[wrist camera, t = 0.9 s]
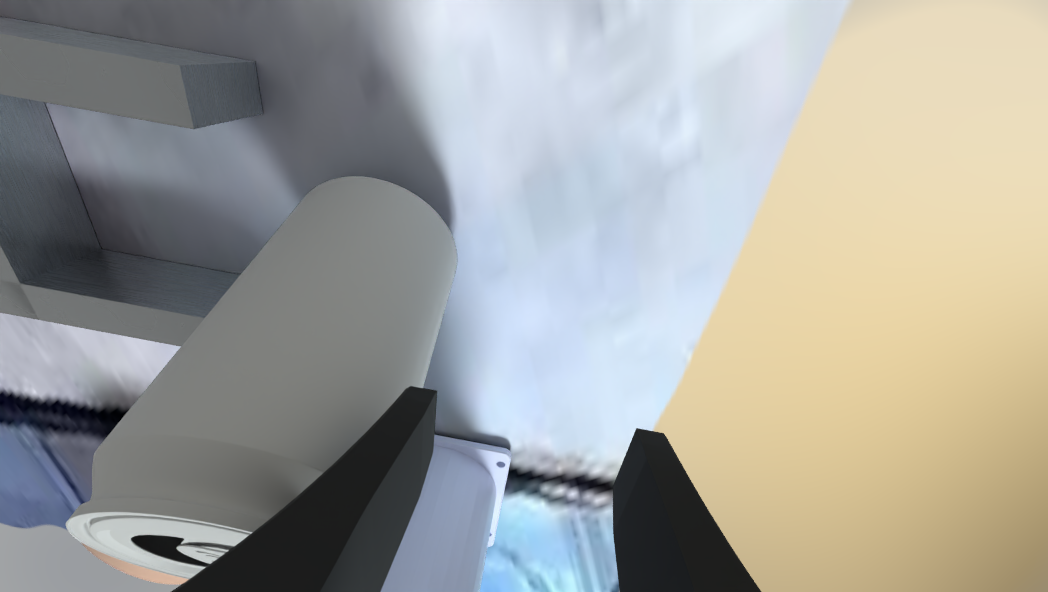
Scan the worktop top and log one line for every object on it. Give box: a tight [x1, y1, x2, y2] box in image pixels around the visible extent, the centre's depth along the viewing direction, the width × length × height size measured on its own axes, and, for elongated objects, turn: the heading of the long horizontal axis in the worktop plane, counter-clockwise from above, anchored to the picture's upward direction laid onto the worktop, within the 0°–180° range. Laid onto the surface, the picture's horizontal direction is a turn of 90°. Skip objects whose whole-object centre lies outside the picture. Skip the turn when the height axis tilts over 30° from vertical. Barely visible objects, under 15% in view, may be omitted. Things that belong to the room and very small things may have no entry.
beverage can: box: [66, 176, 457, 579], centre depth 14 cm, size 6×6×12 cm
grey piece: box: [0, 16, 263, 346], centre depth 17 cm, size 11×11×4 cm
